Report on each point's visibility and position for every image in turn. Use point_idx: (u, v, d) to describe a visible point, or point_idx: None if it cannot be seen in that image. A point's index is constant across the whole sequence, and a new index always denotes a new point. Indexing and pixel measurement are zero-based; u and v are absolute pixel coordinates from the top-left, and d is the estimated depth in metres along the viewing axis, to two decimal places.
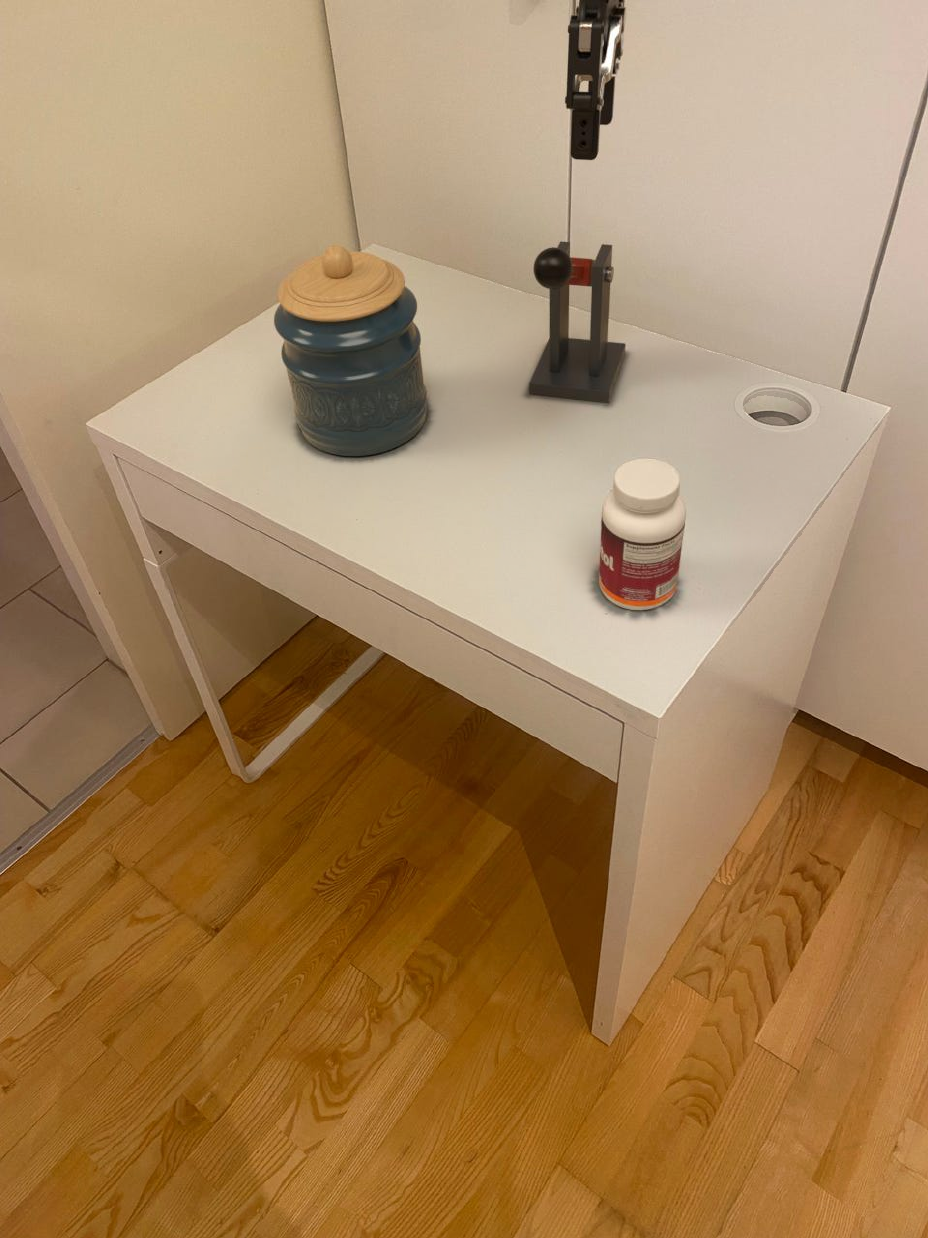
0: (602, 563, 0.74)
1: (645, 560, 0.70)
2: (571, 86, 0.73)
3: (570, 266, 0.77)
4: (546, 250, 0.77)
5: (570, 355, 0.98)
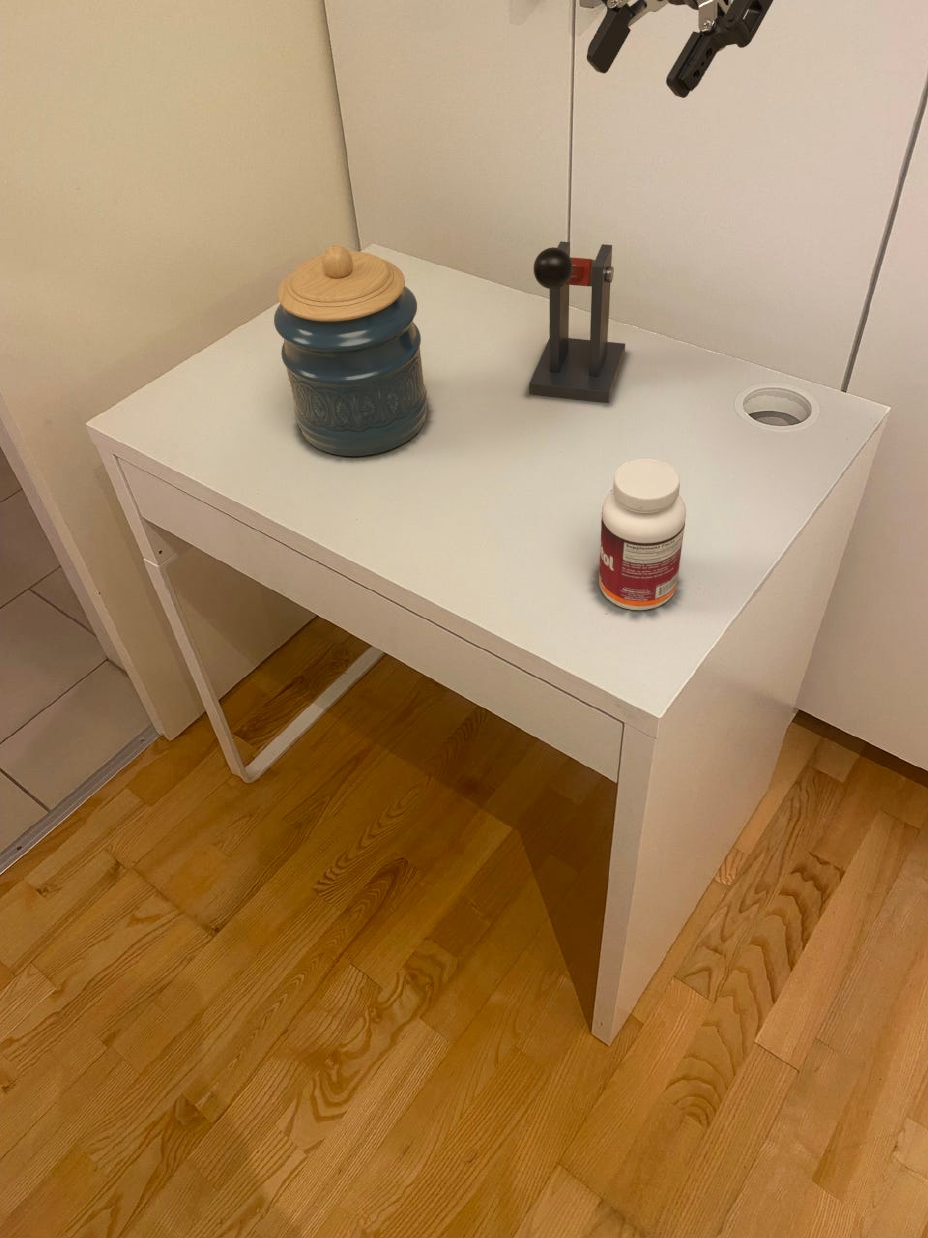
0: (602, 563, 0.74)
1: (645, 560, 0.70)
2: (748, 6, 0.66)
3: (570, 266, 0.77)
4: (546, 250, 0.77)
5: (570, 355, 0.98)
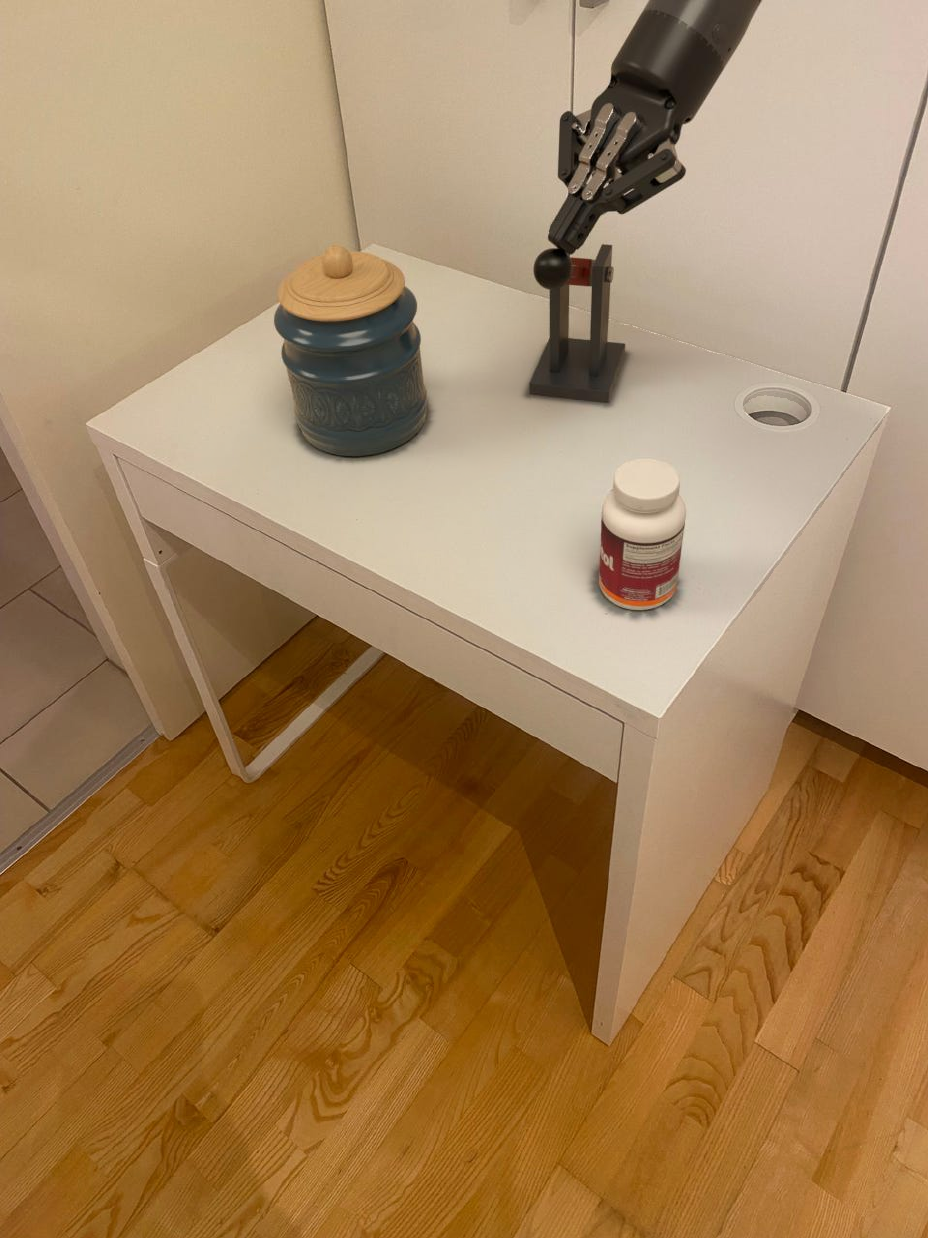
0: (602, 563, 0.74)
1: (645, 560, 0.70)
2: (624, 193, 0.73)
3: (570, 267, 0.77)
4: (546, 251, 0.77)
5: (570, 355, 0.98)
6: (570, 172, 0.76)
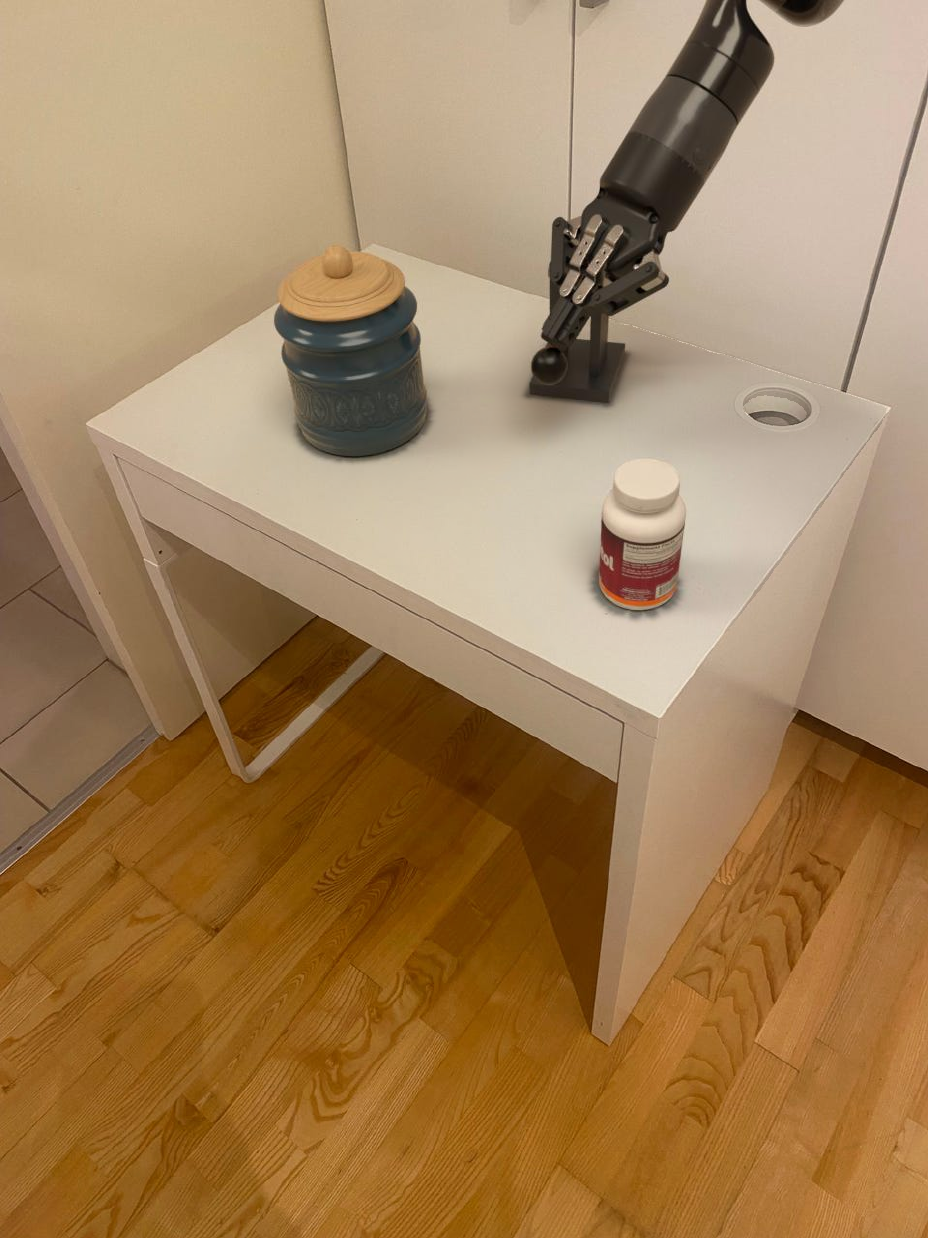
0: (602, 563, 0.74)
1: (645, 560, 0.70)
2: (612, 299, 0.78)
3: (565, 368, 0.82)
4: (540, 359, 0.82)
5: (570, 355, 0.98)
6: (562, 275, 0.81)
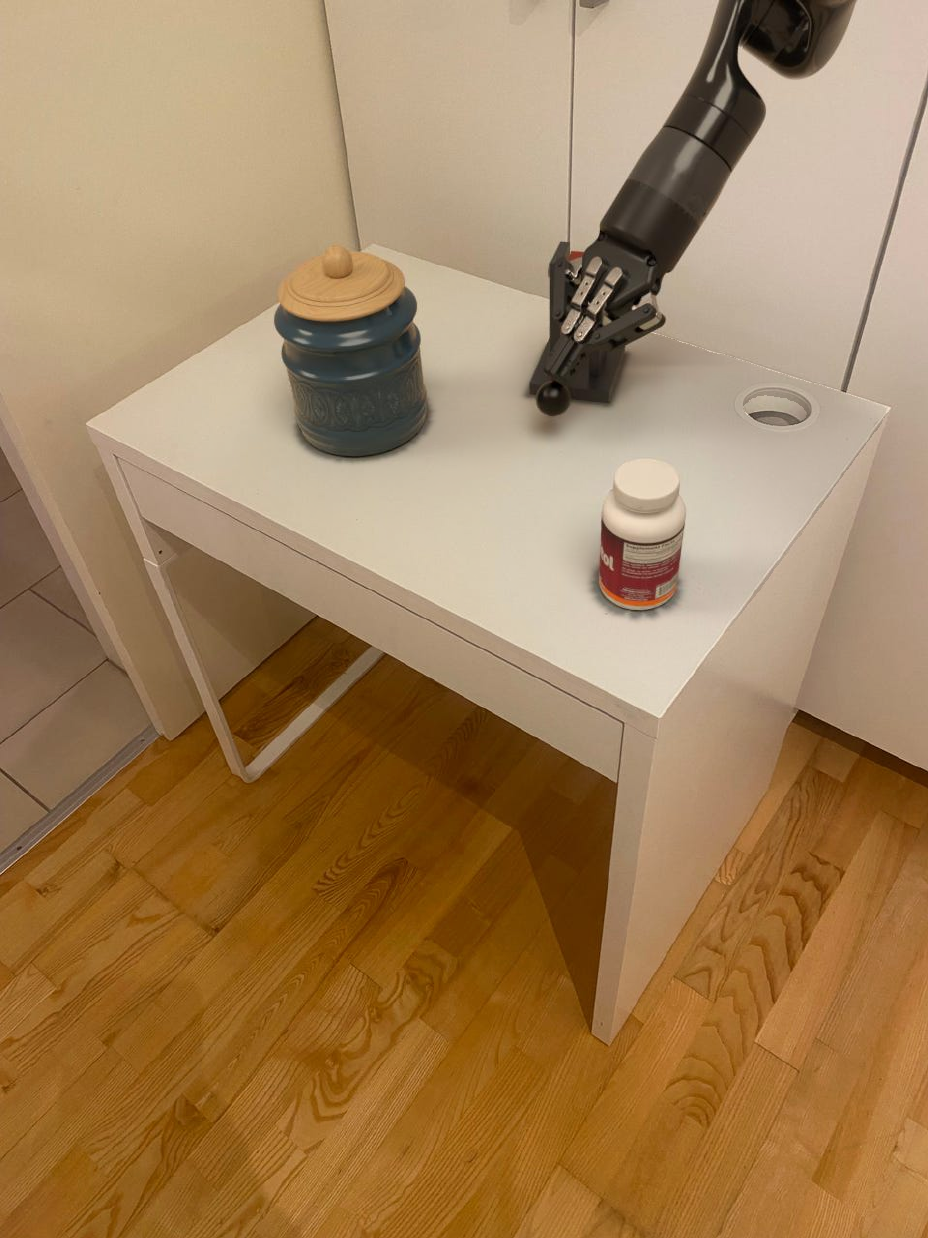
0: (602, 563, 0.74)
1: (645, 560, 0.70)
2: (611, 338, 0.82)
3: (568, 403, 0.87)
4: (544, 399, 0.86)
5: None
6: (563, 314, 0.85)
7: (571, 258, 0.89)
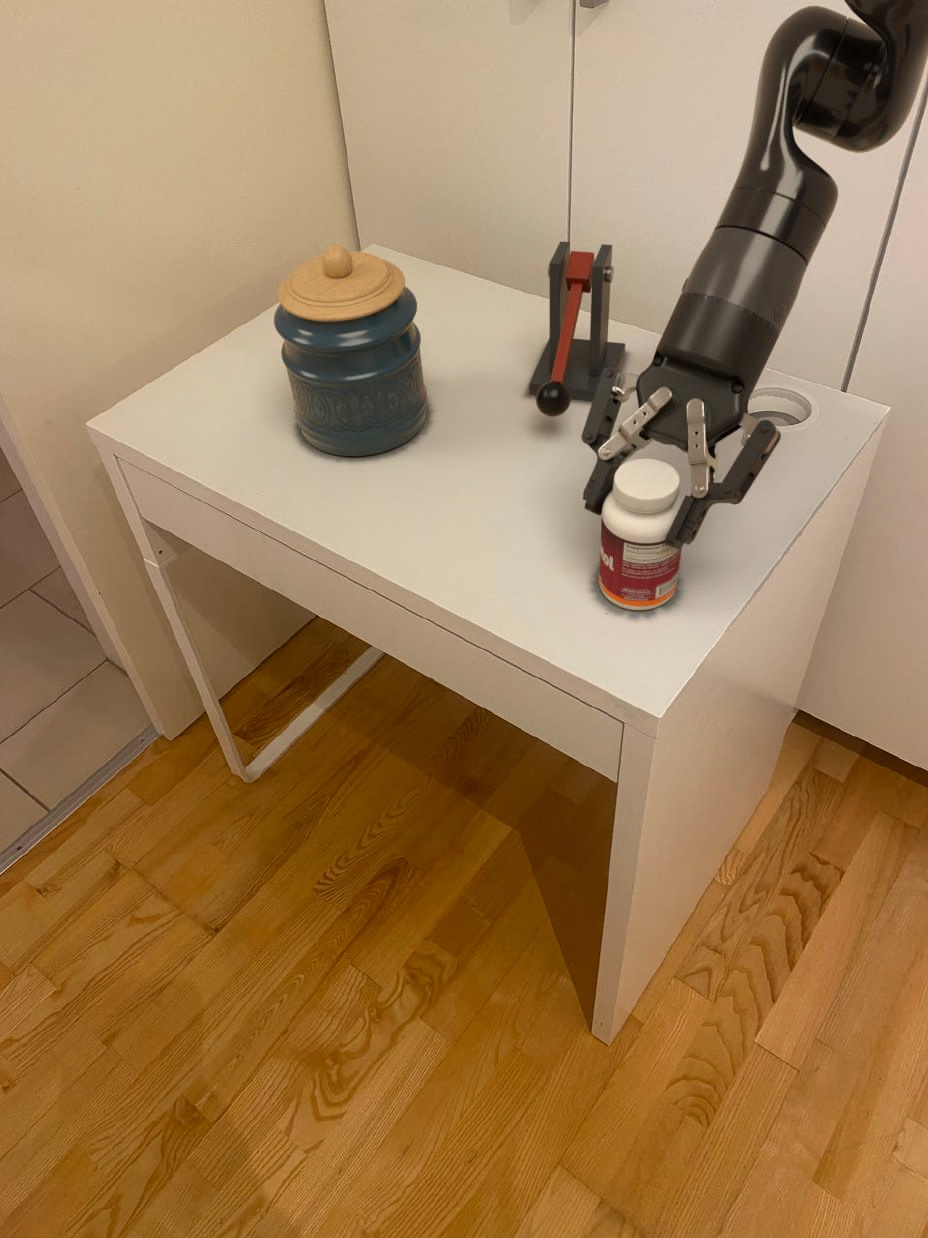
0: (602, 563, 0.74)
1: (645, 560, 0.70)
2: (744, 481, 0.66)
3: (568, 403, 0.87)
4: (544, 399, 0.86)
5: (570, 355, 0.98)
6: (596, 436, 0.71)
7: (571, 258, 0.89)
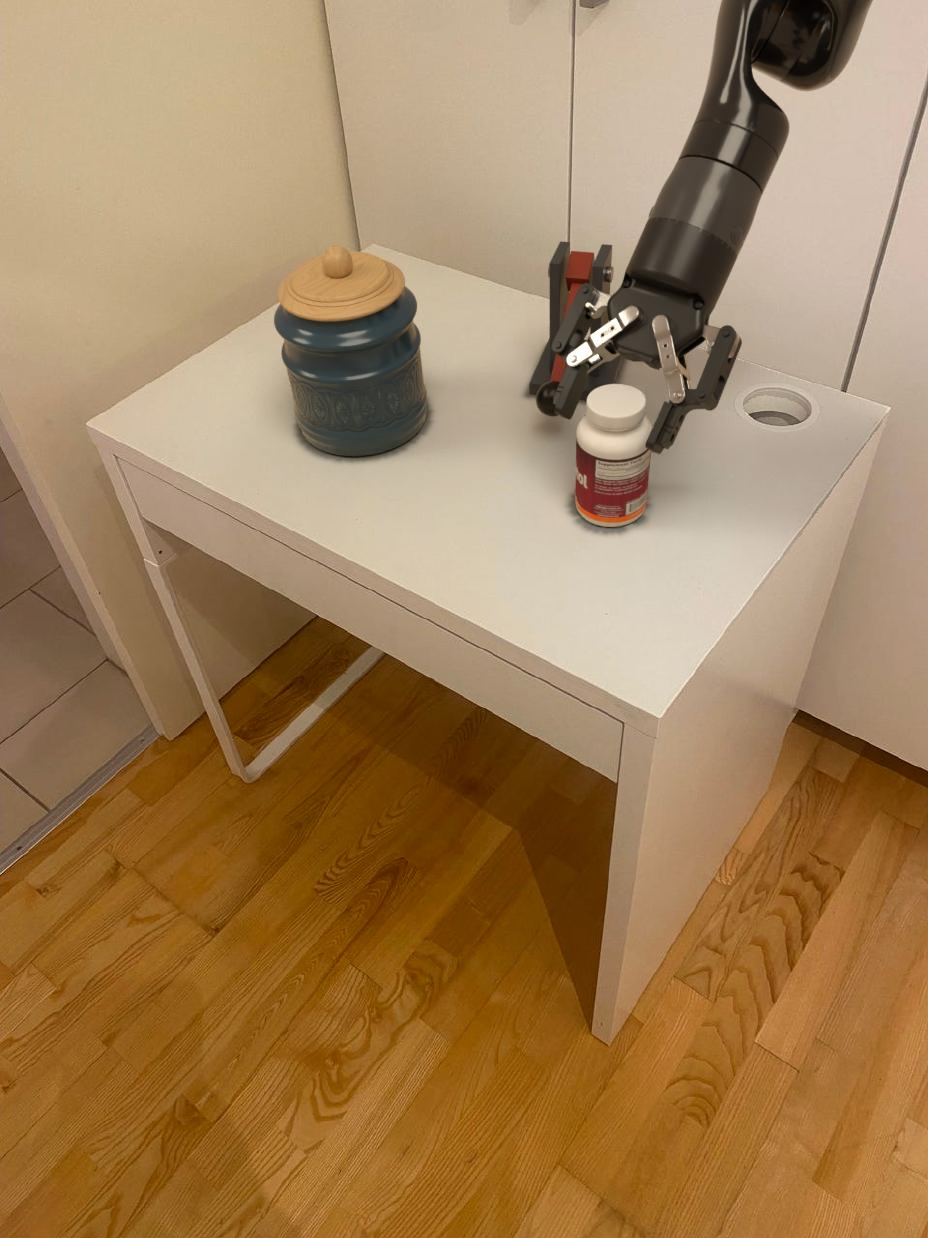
0: (577, 483, 0.80)
1: (615, 477, 0.77)
2: (716, 384, 0.71)
3: None
4: (544, 399, 0.86)
5: None
6: (565, 345, 0.77)
7: (571, 258, 0.89)
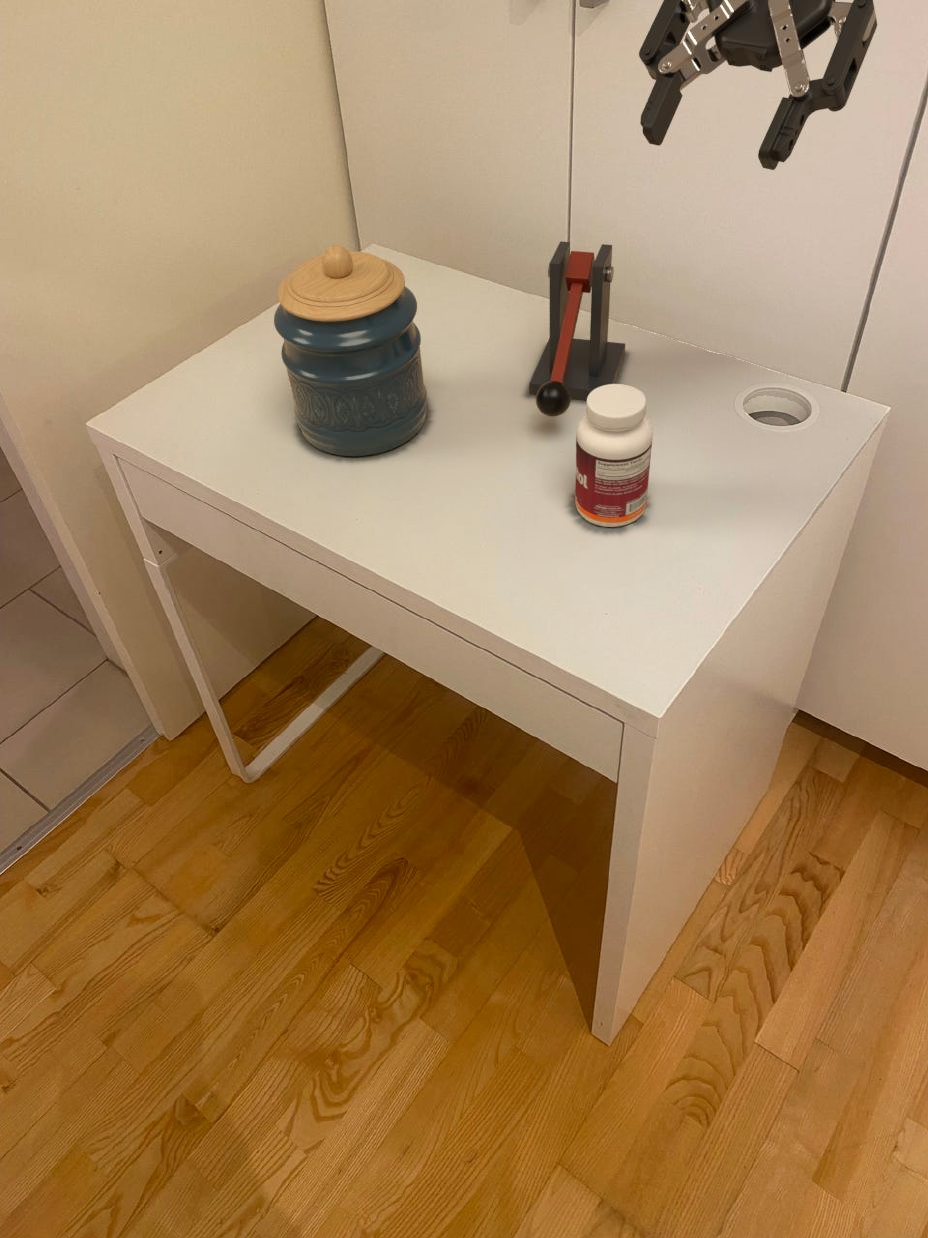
0: (577, 483, 0.80)
1: (615, 477, 0.77)
2: (849, 68, 0.59)
3: (568, 403, 0.87)
4: (544, 399, 0.86)
5: (570, 355, 0.98)
6: (656, 50, 0.65)
7: (571, 258, 0.89)
